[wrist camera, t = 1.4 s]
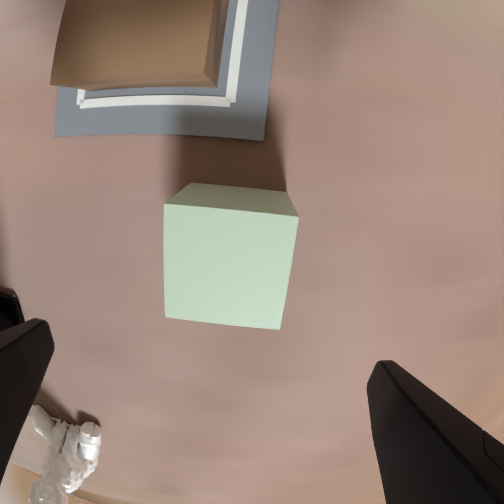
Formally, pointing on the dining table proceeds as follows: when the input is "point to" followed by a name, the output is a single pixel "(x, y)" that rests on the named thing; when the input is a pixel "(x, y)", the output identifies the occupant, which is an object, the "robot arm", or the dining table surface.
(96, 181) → the dining table surface
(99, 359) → the dining table surface
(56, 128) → the blueprint mat
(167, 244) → the sage block
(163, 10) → the walnut base
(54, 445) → the white creature statuette
